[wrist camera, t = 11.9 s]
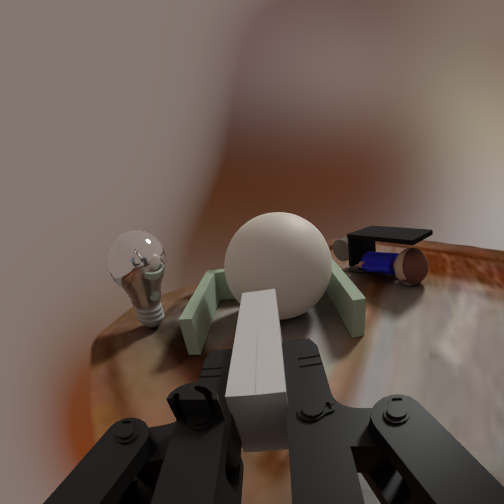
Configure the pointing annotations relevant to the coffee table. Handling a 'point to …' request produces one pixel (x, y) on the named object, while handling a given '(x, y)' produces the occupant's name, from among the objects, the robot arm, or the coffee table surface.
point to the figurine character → (402, 265)
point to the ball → (279, 261)
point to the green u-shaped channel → (216, 288)
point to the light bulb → (140, 273)
